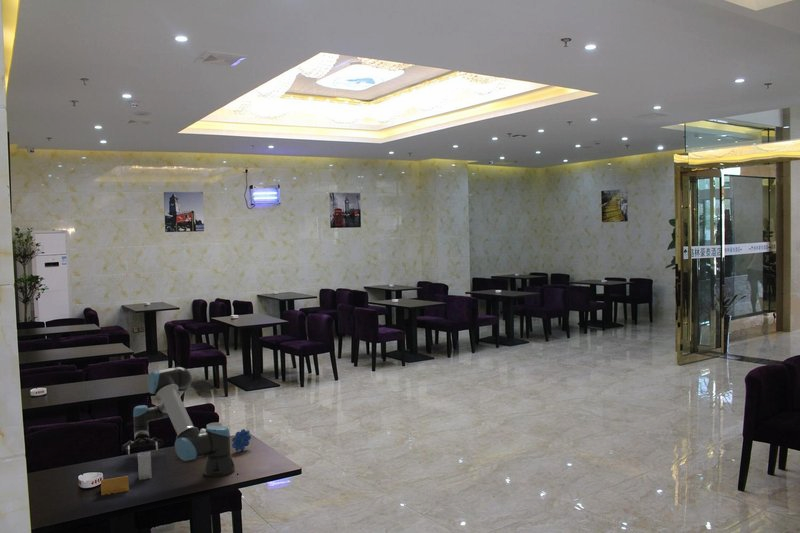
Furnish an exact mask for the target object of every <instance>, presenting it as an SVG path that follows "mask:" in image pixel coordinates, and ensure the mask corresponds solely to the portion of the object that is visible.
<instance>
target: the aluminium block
mask: <svg viewBox="0 0 800 533" xmlns="http://www.w3.org/2000/svg"><path fill="white" fill-rule="evenodd" d="M151 454H152V453H151V451H150V450H149V451H143V452H142V451H141V452H138V453H137V468H138V469H137V470H138V481H142V479H143V480H148V478H149V479H153V477H152V476H153V475H152V474H153V472H152V455H151Z"/></svg>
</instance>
